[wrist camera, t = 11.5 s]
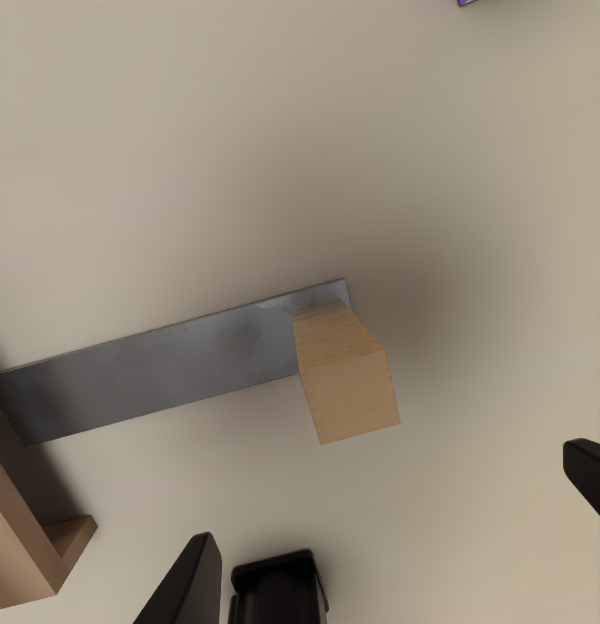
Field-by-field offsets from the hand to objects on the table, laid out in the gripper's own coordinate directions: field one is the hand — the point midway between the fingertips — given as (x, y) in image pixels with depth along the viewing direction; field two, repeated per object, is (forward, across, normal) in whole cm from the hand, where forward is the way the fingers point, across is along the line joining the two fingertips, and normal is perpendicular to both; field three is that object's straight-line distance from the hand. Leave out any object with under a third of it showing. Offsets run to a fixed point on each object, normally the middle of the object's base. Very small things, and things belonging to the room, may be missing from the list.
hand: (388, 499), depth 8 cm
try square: (+12, +9, -1) cm, 15 cm away
